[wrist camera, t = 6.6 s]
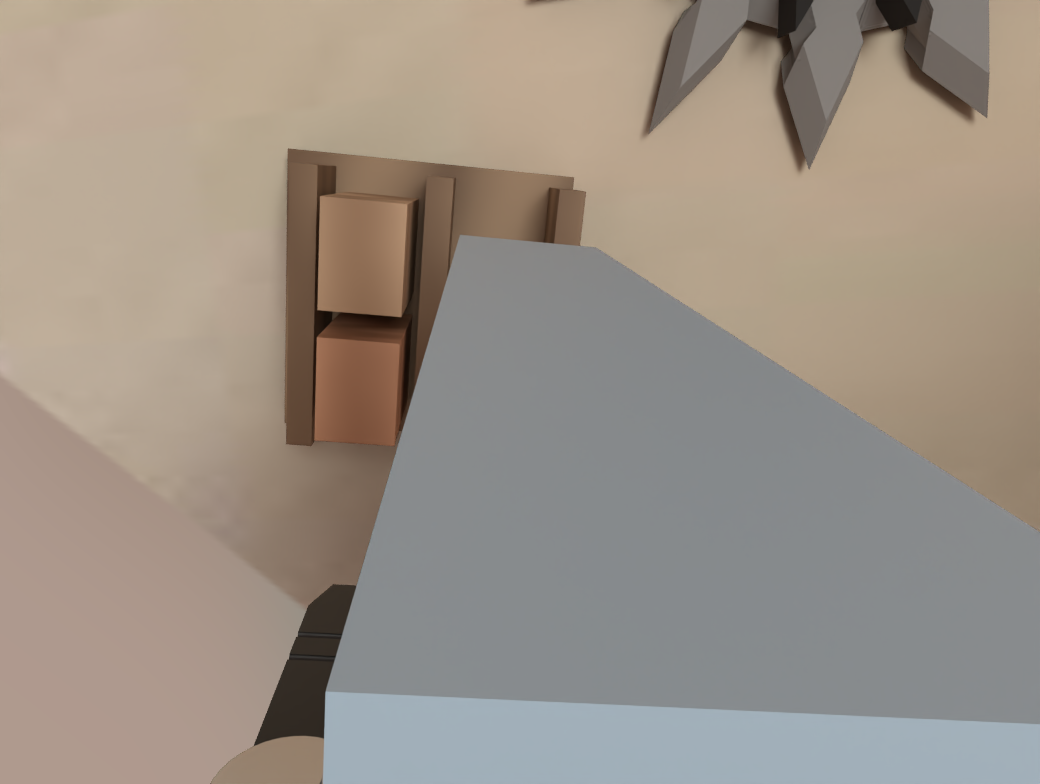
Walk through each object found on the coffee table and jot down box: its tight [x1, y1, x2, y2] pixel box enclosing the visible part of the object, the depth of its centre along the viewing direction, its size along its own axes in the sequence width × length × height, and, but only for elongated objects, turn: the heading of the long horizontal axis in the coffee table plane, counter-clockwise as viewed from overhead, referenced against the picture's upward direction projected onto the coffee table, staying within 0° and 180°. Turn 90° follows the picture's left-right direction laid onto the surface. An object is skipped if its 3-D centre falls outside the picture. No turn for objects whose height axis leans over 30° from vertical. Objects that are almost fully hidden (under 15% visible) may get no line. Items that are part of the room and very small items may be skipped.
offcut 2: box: [314, 312, 412, 446], centre depth 31 cm, size 3×4×6 cm
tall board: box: [323, 235, 1040, 784], centre depth 11 cm, size 3×9×15 cm, turn 175°
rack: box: [285, 149, 586, 446], centre depth 32 cm, size 12×12×6 cm
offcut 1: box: [317, 192, 419, 317], centre depth 30 cm, size 3×4×6 cm
